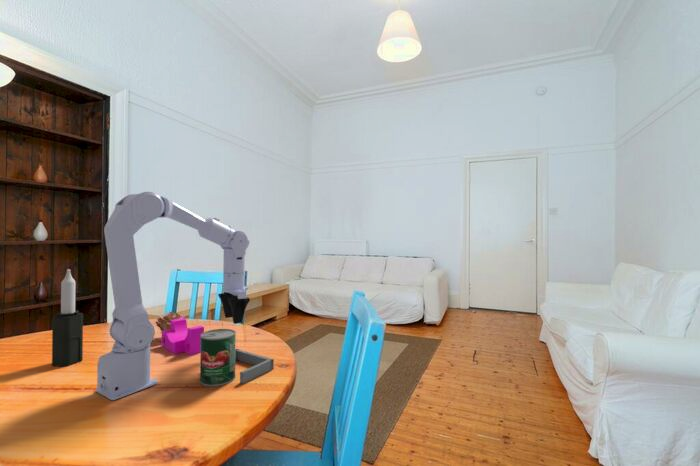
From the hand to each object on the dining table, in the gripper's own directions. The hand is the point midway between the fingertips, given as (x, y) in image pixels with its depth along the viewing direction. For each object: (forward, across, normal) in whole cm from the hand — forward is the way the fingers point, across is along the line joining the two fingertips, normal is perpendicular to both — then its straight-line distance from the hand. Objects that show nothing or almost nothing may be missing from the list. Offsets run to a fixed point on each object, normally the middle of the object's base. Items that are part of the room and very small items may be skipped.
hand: (233, 320), depth 95 cm
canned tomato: (+10, -13, +8) cm, 19 cm away
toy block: (+11, +15, +10) cm, 21 cm away
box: (+10, -11, +2) cm, 15 cm away
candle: (+10, +20, +37) cm, 44 cm away
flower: (+10, +28, +11) cm, 32 cm away
